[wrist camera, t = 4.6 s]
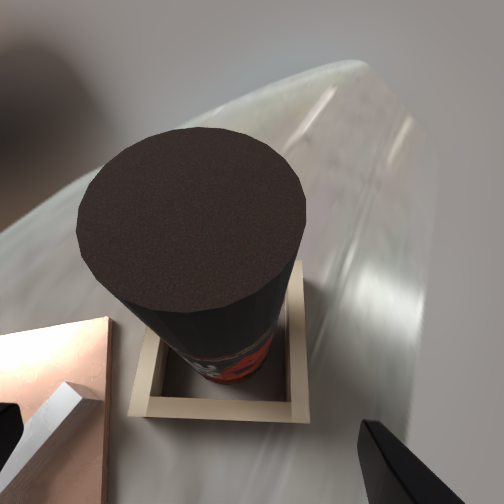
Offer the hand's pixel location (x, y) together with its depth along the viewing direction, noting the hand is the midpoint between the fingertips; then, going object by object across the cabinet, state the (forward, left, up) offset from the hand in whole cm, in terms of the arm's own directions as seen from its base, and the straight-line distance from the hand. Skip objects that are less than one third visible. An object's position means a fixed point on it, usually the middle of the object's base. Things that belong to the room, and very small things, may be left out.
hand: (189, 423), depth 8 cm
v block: (-6, +11, -12) cm, 18 cm away
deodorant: (+5, +2, -12) cm, 13 cm away
